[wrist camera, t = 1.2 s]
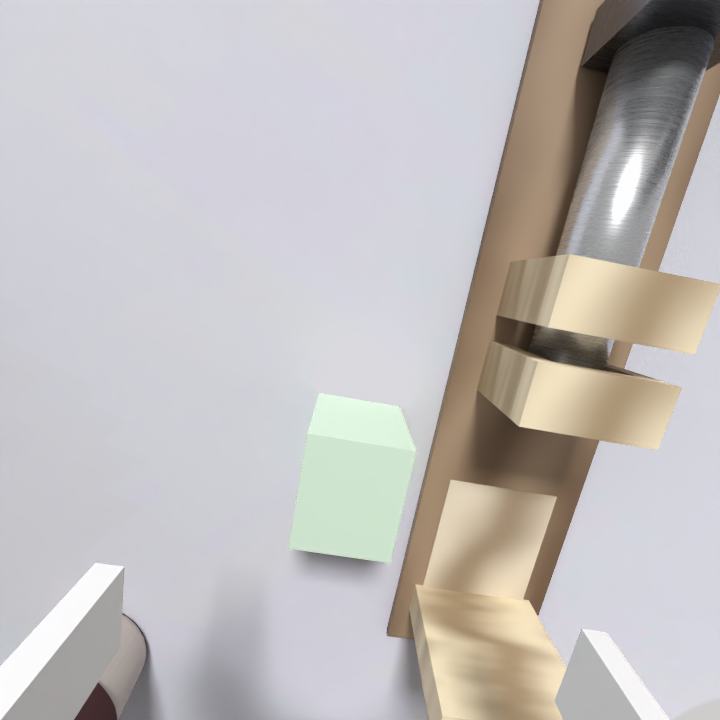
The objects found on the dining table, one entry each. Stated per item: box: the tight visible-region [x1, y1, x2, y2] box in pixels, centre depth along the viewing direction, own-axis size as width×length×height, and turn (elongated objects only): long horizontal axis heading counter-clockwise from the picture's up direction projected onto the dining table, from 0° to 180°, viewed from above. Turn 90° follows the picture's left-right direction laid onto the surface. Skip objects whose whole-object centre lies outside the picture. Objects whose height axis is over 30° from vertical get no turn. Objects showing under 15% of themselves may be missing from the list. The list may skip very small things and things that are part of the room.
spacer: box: [288, 393, 417, 563], centre depth 20 cm, size 5×6×6 cm
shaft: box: [528, 0, 720, 371], centre depth 17 cm, size 5×19×5 cm, turn 170°
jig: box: [387, 0, 720, 720], centre depth 18 cm, size 10×39×8 cm, turn 170°
